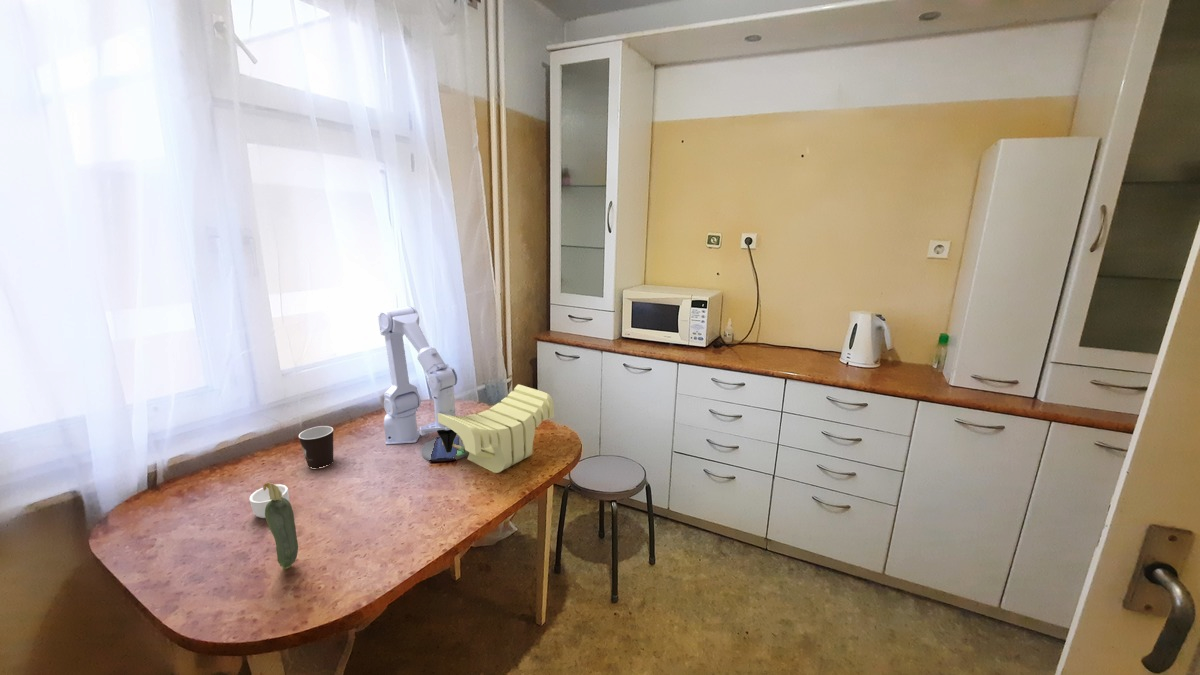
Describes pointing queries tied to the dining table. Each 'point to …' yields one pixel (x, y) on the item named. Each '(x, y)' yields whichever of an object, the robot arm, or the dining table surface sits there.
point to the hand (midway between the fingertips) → (448, 451)
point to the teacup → (264, 499)
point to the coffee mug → (317, 446)
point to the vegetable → (281, 526)
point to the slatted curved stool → (503, 428)
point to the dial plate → (429, 446)
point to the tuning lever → (459, 446)
